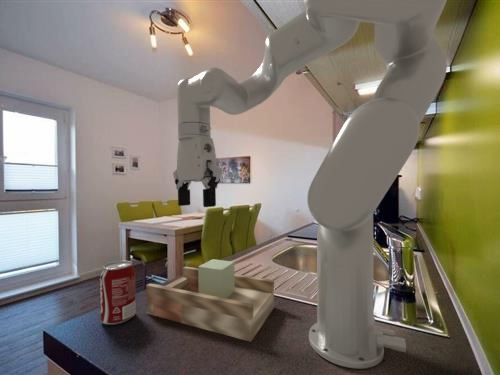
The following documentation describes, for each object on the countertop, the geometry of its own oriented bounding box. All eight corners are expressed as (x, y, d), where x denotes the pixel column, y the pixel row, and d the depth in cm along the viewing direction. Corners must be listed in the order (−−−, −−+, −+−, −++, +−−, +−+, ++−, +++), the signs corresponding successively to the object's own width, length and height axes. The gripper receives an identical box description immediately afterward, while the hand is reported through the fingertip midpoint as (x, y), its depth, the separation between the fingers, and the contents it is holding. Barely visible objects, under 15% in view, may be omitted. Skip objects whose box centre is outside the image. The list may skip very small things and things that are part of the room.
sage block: (234, 291, 58) (234, 261, 58) (221, 302, 53) (221, 270, 52) (213, 287, 60) (212, 259, 60) (198, 297, 55) (198, 266, 55)
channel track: (274, 307, 58) (274, 280, 58) (250, 341, 45) (250, 307, 45) (185, 289, 69) (185, 266, 69) (146, 313, 56) (146, 285, 56)
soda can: (142, 315, 55) (141, 262, 55) (112, 331, 49) (111, 271, 49) (124, 308, 58) (123, 258, 58) (94, 321, 53) (93, 266, 53)
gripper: (231, 130, 55) (233, 206, 55) (186, 141, 67) (188, 204, 67) (205, 124, 50) (207, 208, 50) (160, 137, 61) (162, 206, 61)
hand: (196, 206), depth 58 cm, fingers open, 9 cm apart
